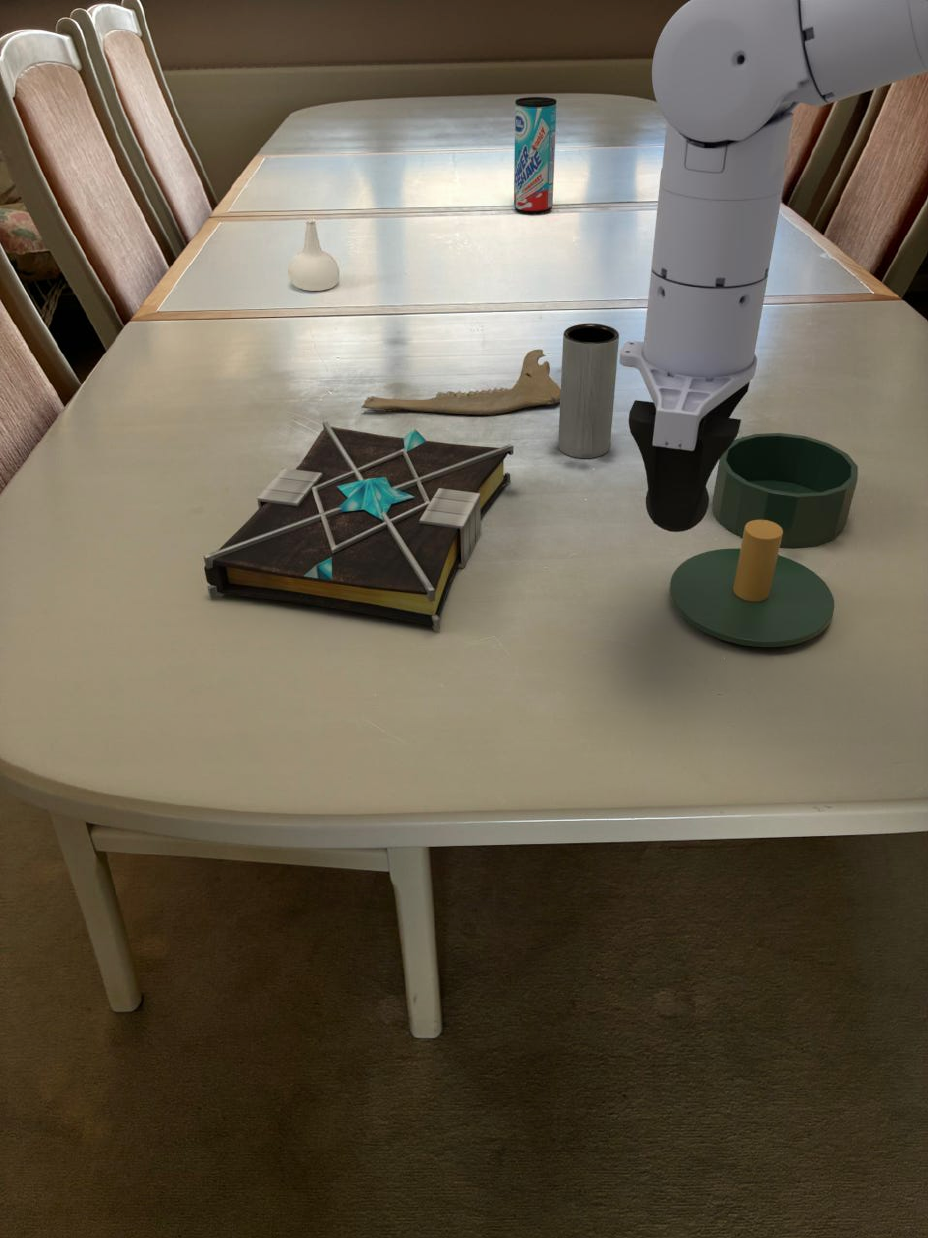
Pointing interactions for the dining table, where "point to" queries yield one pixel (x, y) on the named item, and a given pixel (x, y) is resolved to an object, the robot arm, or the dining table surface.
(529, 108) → the beverage can
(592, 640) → the dining table surface
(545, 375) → the jawbone
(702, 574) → the lid
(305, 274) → the garlic bulb
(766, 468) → the tin
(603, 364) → the planter
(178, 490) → the dining table surface
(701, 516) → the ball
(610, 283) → the dining table surface
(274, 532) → the book
